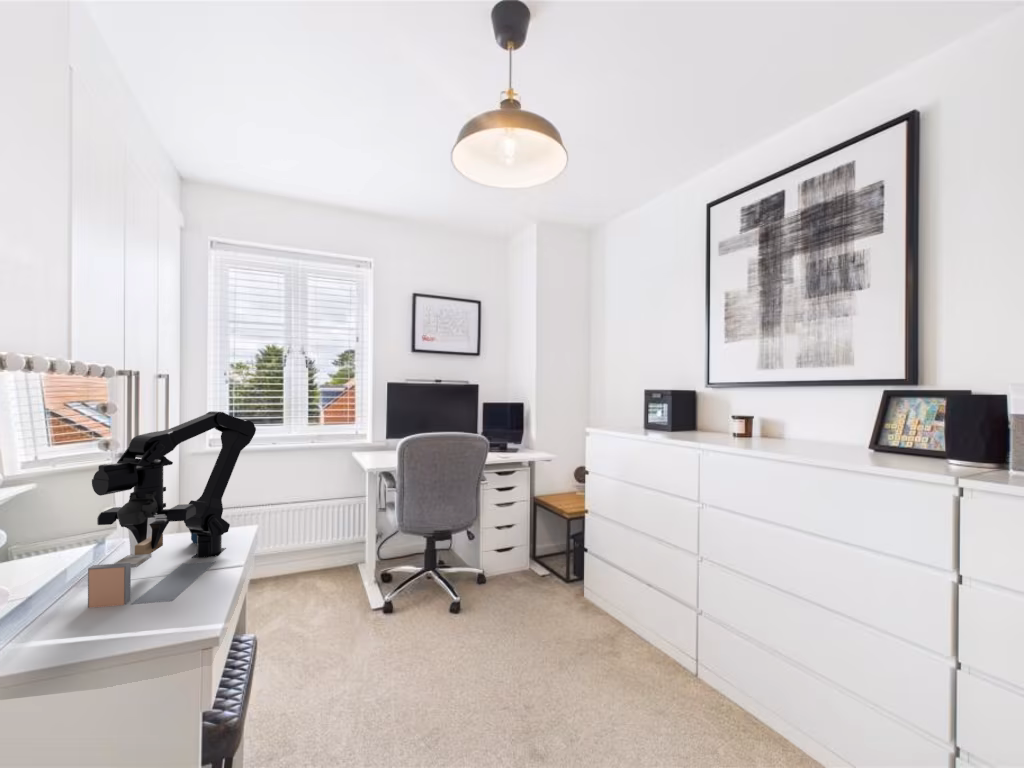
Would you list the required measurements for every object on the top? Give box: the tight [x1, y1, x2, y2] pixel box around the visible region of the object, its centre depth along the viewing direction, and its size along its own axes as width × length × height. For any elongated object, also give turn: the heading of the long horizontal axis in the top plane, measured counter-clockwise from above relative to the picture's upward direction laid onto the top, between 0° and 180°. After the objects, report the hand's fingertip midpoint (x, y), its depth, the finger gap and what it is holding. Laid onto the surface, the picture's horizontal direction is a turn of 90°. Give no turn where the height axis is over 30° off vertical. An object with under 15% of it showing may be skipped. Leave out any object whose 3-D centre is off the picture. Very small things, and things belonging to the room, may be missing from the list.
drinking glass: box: [126, 500, 157, 555], centre depth 127 cm, size 7×7×15 cm
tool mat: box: [131, 561, 217, 605], centre depth 109 cm, size 22×8×1 cm, turn 12°
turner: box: [113, 533, 164, 569], centre depth 108 cm, size 14×5×3 cm, turn 12°
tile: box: [87, 563, 132, 609], centre depth 97 cm, size 2×7×9 cm, turn 102°
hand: (148, 548), depth 111 cm, fingers closed on turner, 2 cm apart
